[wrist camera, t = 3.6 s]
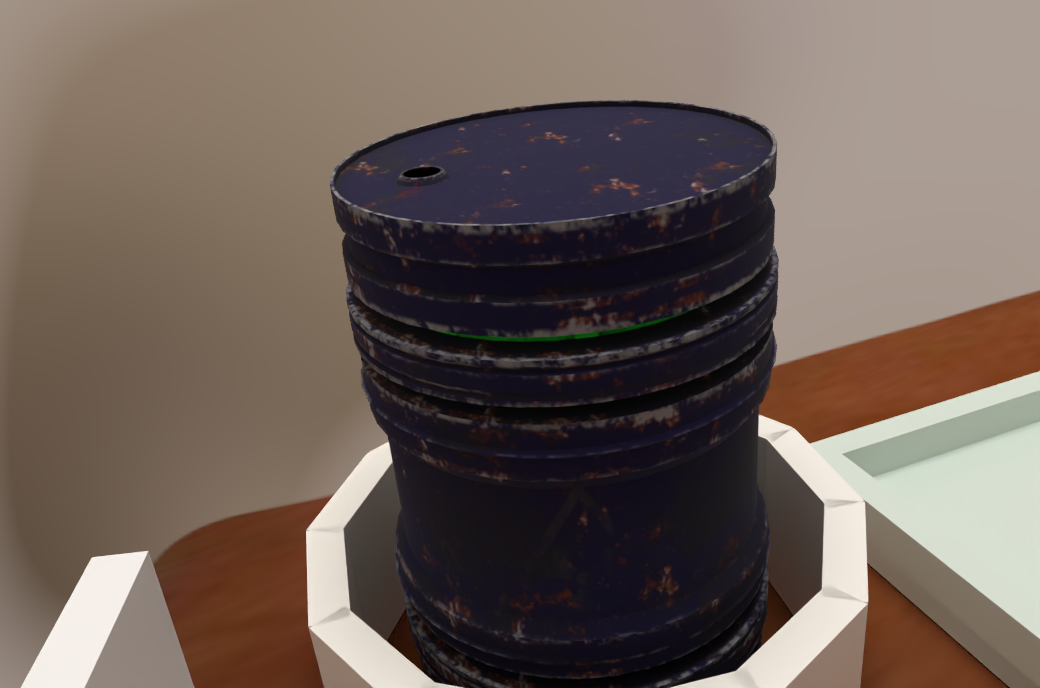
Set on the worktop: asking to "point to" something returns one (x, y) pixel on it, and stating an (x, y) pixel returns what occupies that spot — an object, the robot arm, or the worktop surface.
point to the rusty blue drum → (571, 385)
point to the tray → (959, 517)
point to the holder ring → (756, 684)
